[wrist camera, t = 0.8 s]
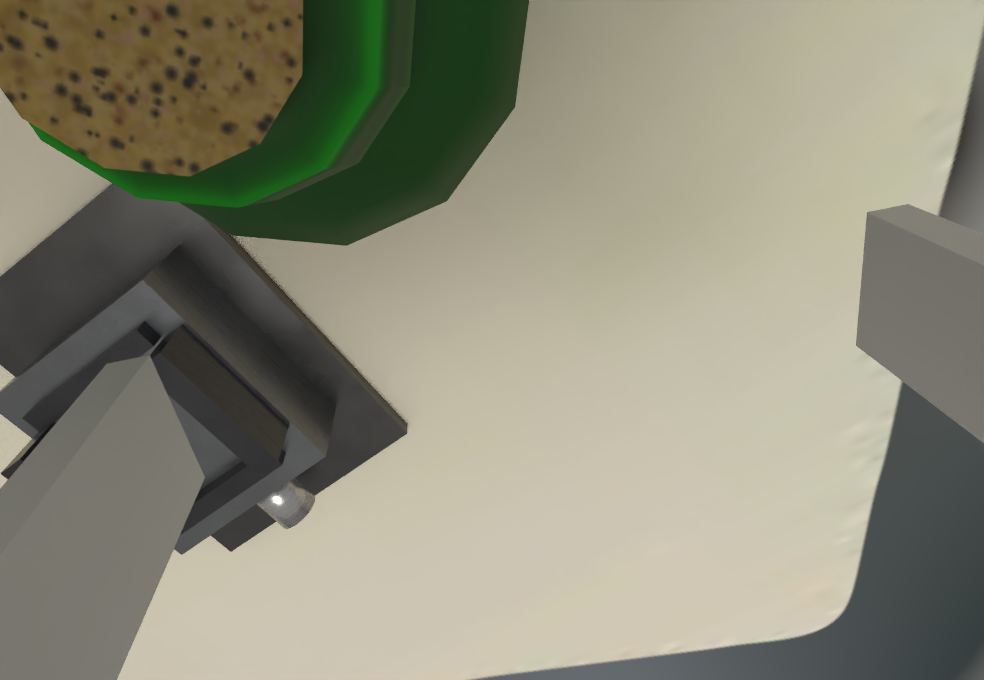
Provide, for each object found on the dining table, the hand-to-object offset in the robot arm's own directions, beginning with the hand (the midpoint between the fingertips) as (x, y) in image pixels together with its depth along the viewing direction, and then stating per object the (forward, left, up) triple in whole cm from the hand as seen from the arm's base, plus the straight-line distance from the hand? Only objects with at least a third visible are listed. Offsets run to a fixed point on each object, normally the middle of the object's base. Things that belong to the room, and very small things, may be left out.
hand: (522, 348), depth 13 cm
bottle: (-7, 0, -25) cm, 26 cm away
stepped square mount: (+2, -19, -24) cm, 31 cm away
